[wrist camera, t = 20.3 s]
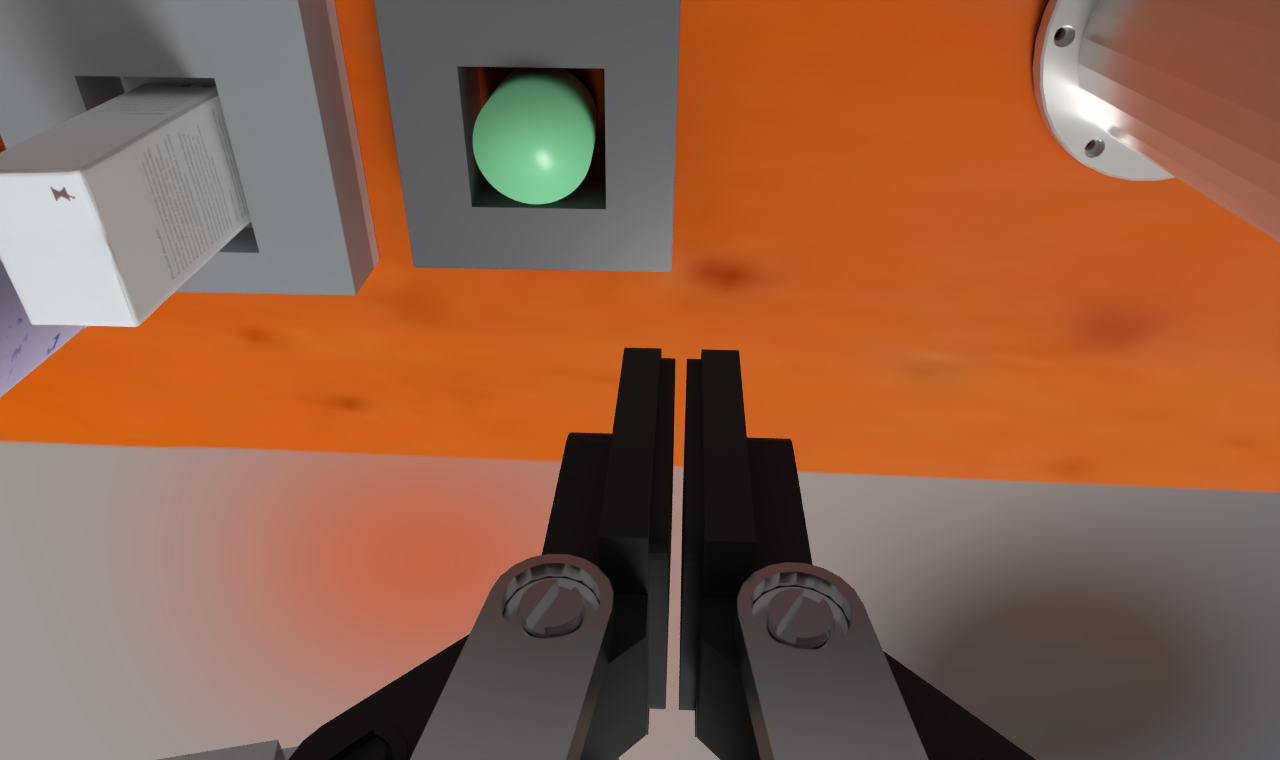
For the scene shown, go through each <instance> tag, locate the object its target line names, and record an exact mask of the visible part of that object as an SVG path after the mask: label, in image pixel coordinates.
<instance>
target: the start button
mask: <svg viewBox="0 0 1280 760" xmlns="http://www.w3.org/2000/svg"><path fill="white" fill-rule="evenodd" d="M597 130H598V115H597V110H596V106H595V103H594V100H593V98H592V96H591V94H590V92H589V91H588V89H587V88H586V87H585V85H584V84H583V83H582V82H581V81H580V80H579V79H578V78H577V77H576V76H574V75H573V74H571V73H570V72H568V71H566V70H564V69H563V68H530V67H520V68H518V69H516V70H514V71H512V72H511V73H510V74H508V75H507V76H506V77H505V78H504V79H503V80H502V81H501V82H500V83H499V85H498V86H497V88H496V89H495V90H494V92H493V93H492V95H491V96H490V98H489V99H488V101H487V102H486V104H485V105H484V107H483V108H482V110H481V111H480V113H479V115H478V117H477V120H476V122H475V126H474V130H473V150H474V155H475V159H476V162H477V164H478V166H479V169H480V170H481V172H482V174H483V175H484V177H485V178H486V179H487V181H488V182H489V183H490V184H491V185H492V186H493V187H494V188H495V189H497V190H498V191H499V192H500V193H502V194H504V195H505V196H507V197H509V198H511V199H513V200H516V201H519V202H522V203H527V204H546V203H551V202H555V201H558V200H560V199H562V198H564V197H566V196H567V195H569V194H570V193H572V192H573V191H574V190H575V189H576V188H577V187H578V186H579V185H580V184H581V182H582V181H583V179H584V178H585V176H586V174H587V172H588V170H589V167H590V164H591V159H592V154H593V150H594V145H595V140H596V135H597Z"/></svg>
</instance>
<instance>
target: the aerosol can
mask: <svg viewBox="0 0 1280 760" xmlns="http://www.w3.org/2000/svg"><path fill="white" fill-rule="evenodd" d="M86 327H88V326H81V325H32V324H31V323H30V320H29V318H28V316H27V314H26V311H25V309H24V307H23V305H22V303H21V301H20V299H19V297H18V294H17V292H16V290H15V288H14V286H13V284H12V282H11V280H10V278H9V276H8V273H7V271H6V269H5V267H4V265H3V263H2V261H1V259H0V397H1V396H3V395H4V394H5V393H6V392H7V391H9V390H10V389H11V388H12V387H13V386H15V385H16V384H17V383H18V382H19V381H21V380H22V379H23V378H24V377H25V376H27V375H28V374H29V373H30V372H31V371H33V370H34V369H35V368H36V367H37V366H39V365H40V364H41V363H42V362H43V361H45V360H46V359H47V358H48V357H49V356H51V355H52V354H53V353H54V352H55V351H57V350H58V349H59V348H60V347H61V346H63V345H64V344H65V343H66V342H67V341H69V340H70V339H71V338H72V337H74V336H75V335H76V334H77V333H78V332H80V331H81V330H82V329H84V328H86Z"/></svg>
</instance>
